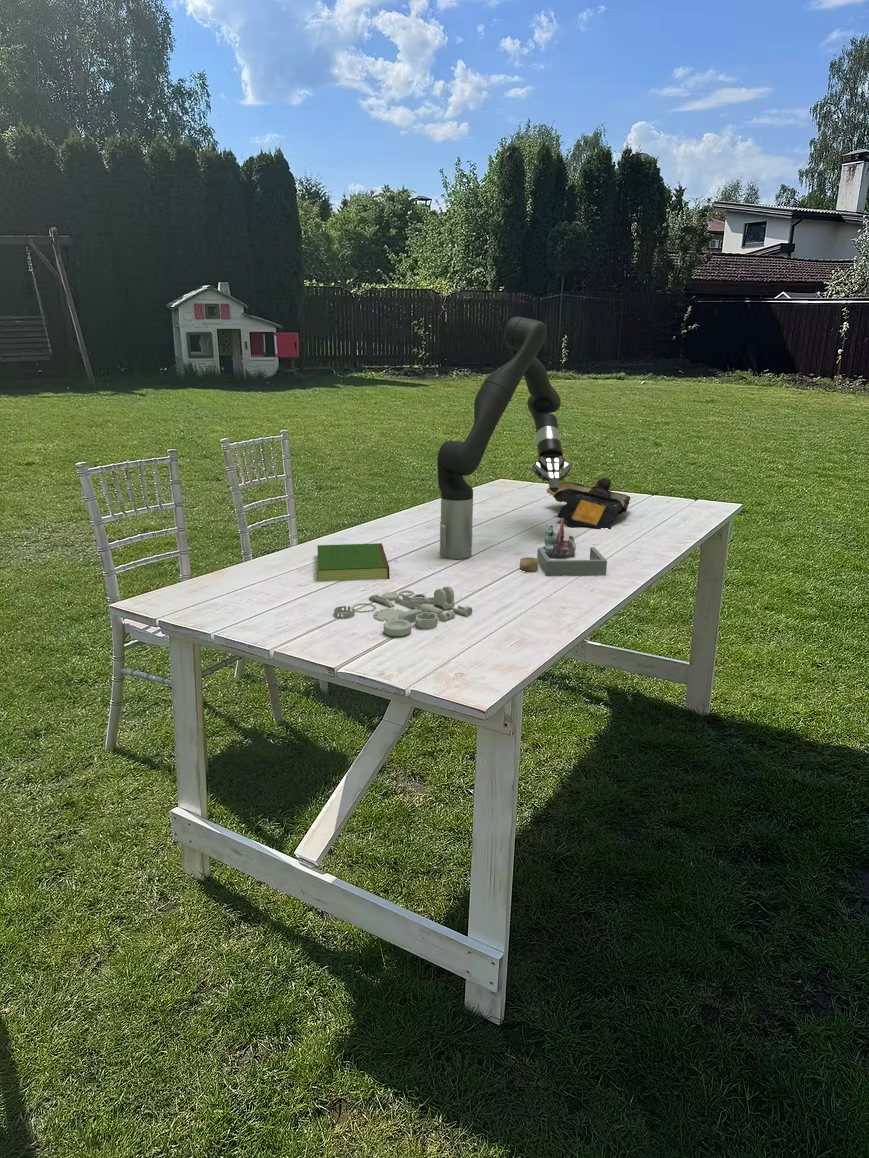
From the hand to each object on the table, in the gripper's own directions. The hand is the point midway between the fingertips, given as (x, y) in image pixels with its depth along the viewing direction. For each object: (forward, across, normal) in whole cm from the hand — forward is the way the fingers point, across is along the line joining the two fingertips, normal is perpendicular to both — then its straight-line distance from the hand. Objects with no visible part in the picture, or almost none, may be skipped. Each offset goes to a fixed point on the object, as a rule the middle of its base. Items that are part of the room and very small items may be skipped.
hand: (554, 490), depth 239 cm
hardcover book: (+28, -61, -4) cm, 67 cm away
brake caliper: (+21, -1, +3) cm, 21 cm away
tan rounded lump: (+32, -12, -8) cm, 35 cm away
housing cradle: (+30, 0, -7) cm, 31 cm away
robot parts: (+55, -48, -31) cm, 80 cm away
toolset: (-14, +19, +39) cm, 45 cm away
